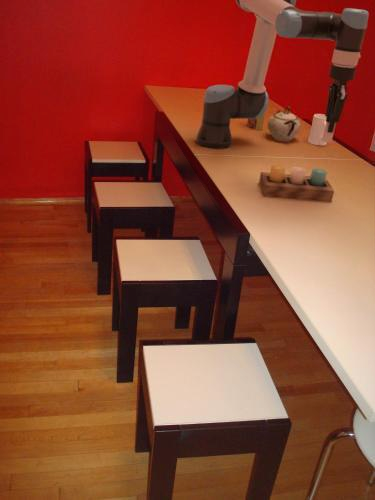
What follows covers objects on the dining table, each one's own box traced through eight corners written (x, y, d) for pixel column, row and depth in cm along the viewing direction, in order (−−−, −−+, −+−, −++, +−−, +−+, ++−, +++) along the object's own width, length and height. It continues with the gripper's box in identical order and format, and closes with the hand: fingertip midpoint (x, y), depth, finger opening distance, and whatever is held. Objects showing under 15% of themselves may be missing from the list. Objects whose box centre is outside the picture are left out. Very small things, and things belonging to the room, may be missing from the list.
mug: (329, 148, 220) (335, 121, 214) (310, 146, 220) (316, 119, 214) (324, 140, 230) (330, 115, 224) (306, 138, 230) (312, 113, 224)
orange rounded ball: (269, 183, 167) (272, 169, 164) (267, 178, 171) (270, 164, 169) (283, 184, 167) (286, 170, 165) (281, 179, 171) (284, 165, 169)
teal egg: (310, 186, 167) (314, 173, 165) (308, 181, 172) (311, 167, 169) (324, 188, 168) (328, 174, 165) (321, 182, 172) (324, 169, 169)
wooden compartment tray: (263, 196, 165) (265, 185, 163) (259, 182, 176) (260, 172, 174) (331, 201, 166) (334, 190, 164) (323, 188, 177) (325, 177, 175)
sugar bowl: (305, 146, 220) (312, 112, 213) (273, 145, 217) (280, 110, 210) (289, 132, 237) (295, 100, 230) (259, 131, 234) (264, 99, 226)
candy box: (245, 124, 242) (250, 92, 235) (253, 124, 244) (258, 92, 237) (254, 130, 235) (260, 97, 228) (262, 130, 237) (268, 97, 230)
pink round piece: (290, 185, 167) (293, 171, 165) (287, 179, 171) (290, 166, 169) (304, 186, 167) (307, 172, 165) (301, 181, 172) (304, 167, 169)
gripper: (362, 70, 145) (343, 148, 157) (350, 63, 156) (333, 136, 168) (337, 67, 145) (319, 146, 156) (326, 60, 156) (311, 134, 168)
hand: (326, 141), depth 162 cm, fingers closed
